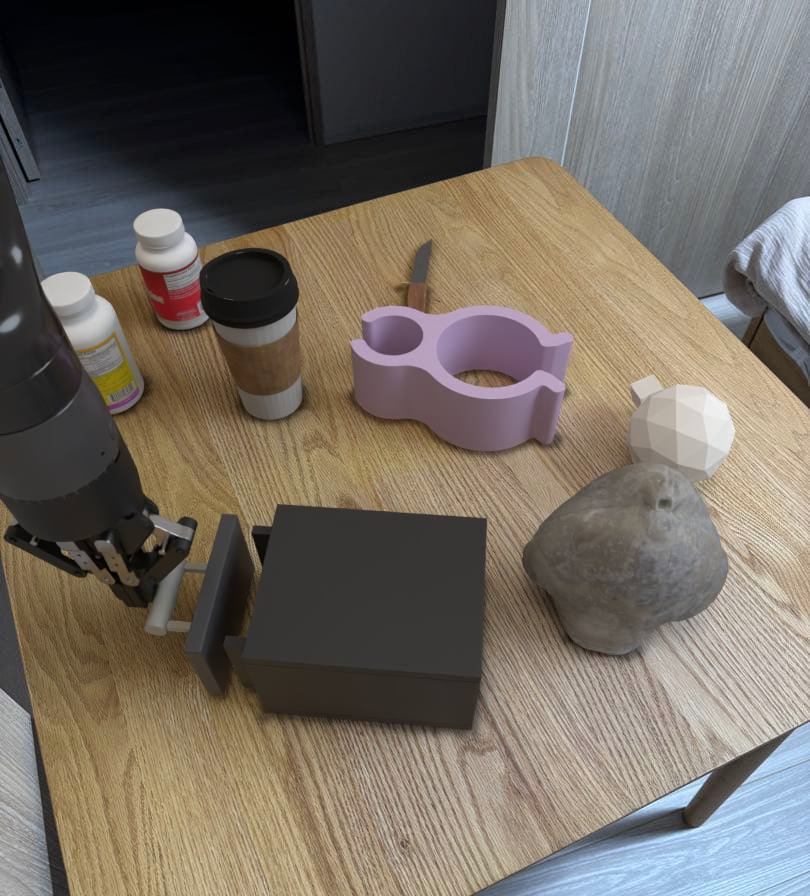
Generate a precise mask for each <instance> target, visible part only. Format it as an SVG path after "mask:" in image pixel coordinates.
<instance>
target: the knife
mask: <svg viewBox="0 0 810 896" xmlns="http://www.w3.org/2000/svg"><path fill="white" fill-rule="evenodd" d="M432 242H433V238H431V239H429V240H428V241H426V242H425V243H423V244H422V245H420V247H419V249H418V250H417V252H416V253H415V255H414V256H415V257H414V262H413V268H412V272H411V278H410V281H401V282H400V286H401V287H408V292H407V299H406V307H409V308H413V309H416V310H418V311H420V312H423V313H426V303H427V293H428V292H427V291H428V283H427V277H428V276H427V274H428V269H429V264H430V256H431V250H432Z"/></svg>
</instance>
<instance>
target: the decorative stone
mask: <svg viewBox="0 0 810 896" xmlns="http://www.w3.org/2000/svg"><path fill="white" fill-rule="evenodd" d="M715 525H716V524H714V522H713V520H712V518H711V513H710V510H709V507H708V506H707V504H706V502H705V501H704V499H703V498H702V496H701V495H700V492H699V490H698V489H697V488H696V486H695V485H694V483H692V482H691V481H690V480H689V479H687V478H686V477H685V476H684V474H682V473H680V472H679V471H677V470H676V469H674V468H671V467H669V466H666V465H662V464H656V463H637V464H633V463H632V464H628V465H624V466H622V467H618V468H614V469H613V470H610V471H608V472H604V473H602V474H601V475H599V476H597V477H595V478H594V479H593V480H590V481H589V482H588V483H587V484H585V485H584V486H582V487H581V488H580V489H579V490H578V491H577V492H576V493H575V494H574V495H573V496H572V495H571V497H569V498H567V500H565V501H564V502H563V503H561V504H560V505H559V506H557V508H556V509H554V510H553V511H552V512H551V513H550V514H549V515H548V516H547V517H546V518H545V519H544V520H543V521H542V522H541V523H540V524H539V526H538V529H537V530H536V531H535V533H533V536H532V538H531V539H530V540H529V541H528V542H527V543H526V544H525V545H524V547H523V549H522V560H521V563H522V567H523V571H524V572H525V574H526V575H527V577H528V578H529V579H530V580H531V581H532V582H533V583H535V584H537V585H539V586H540V587H541V588H543V589H544V590H546V591H547V592H548V593H549V595H550V597H551V599H552V601H553V603H554V605H555V608H556V611H557V616H558V619H559V622H560V624H561V627H562V628H563V630H564V631H565V633H566V634H567V635H568V636H569V638H570V639H571V640H572V642H573V643H575V644H576V645H578V646H580V647H581V648H583V649H586V650H588V651H589V650H590V651H595V652H600V653H604V654H606V655H609V656H622V655H626V654H628V653H631V652H632V651H635V650H636V649H638V648H639V646H640V645H641V643H642V641H643V640H645V639H646V638H648V637H649V636H650V635H651V634H653V632H654V631H655V630H656V629H657V628H659V627H661V626H663V625H666V624H668V623H672V622H673V623H674V622H675V623H676V622H683V621H687V620H690V619H692V618H694V617H696V616H698V615H699V614H701V613H702V612H704V611H705V610H707V609H708V608H709V607H710V605H712V604H713V603H715V602H716V600H717V598H718V596H719V595H720V593H721V591H722V590H723V588H724V586H725V584H726V581H727V578H728V574H729V571H730V567H729V565H730V564H729V560H728V557H727V553H726V551H725V549H724V547H723V546H722V542H721V538H720V534H719V532H718V529H717V526H715Z"/></svg>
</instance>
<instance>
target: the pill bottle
mask: <svg viewBox="0 0 810 896" xmlns="http://www.w3.org/2000/svg"><path fill="white" fill-rule="evenodd" d="M133 230H134V234H135V237H136V239H137V243H136V246H135V251H134V255H135V259H136V262H137V265H138V268H139V271H140V274H141V277H142V280H143V282H144V285H145V287H146V288H145V289H146V291H147V293H148V297H149V299H150V302H151V305H152V307H153V310H154V313H155V315H156V318H157V320H158V321H159V323H160V324H162V326H165V327H166V328H168V329H171V330H176V331H179V330H180V331H185V330H190V329H194V328H196V327H199V326H201V325H203V324H204V323H206V322H207V321H208V319H210V318H209V317H208V316H207V315H206V313H205V312H204V310H203V307H202V304H201V300H200V292H201V289H200V281H199V274H200V271H201V269H202V268H203V264H202V261H201V256H200V252H199V248H198V247H197V243H196V241H195V239H194V238H193V237H192V236H191V234H190V233H188V232H186V231H185V230H186V229H185V225H184V223H183V220H182V217H181V215H180V214H179V212H177V211H175V210H173V209H171V208H170V209H169V208H154V209H149V210H147V211H143V212H142V213H140V214H139V215H138V216H137V217H136V218H135V219H134V221H133Z"/></svg>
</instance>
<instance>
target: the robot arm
mask: <svg viewBox="0 0 810 896" xmlns="http://www.w3.org/2000/svg"><path fill="white" fill-rule="evenodd" d="M41 282H42V281H41V279H40V277H39V273H38V270H37V267H36V264H35V260H34V257H33V252H32V249H31V245H30V242H29V239H28V235H27V231H26V228H25V224H24V221H23V219H22V216H21V212H20V209H19V206H18V203H17V200H16V196H15V193H14V190H13V187H12V183H11V180H10V178H9V174H8V171H7V169H6V165H5V163H4V160H3V157H2V154H1V153H0V501H1V502H2V503H3V505H4V506H5V508H6V509H7V510H8V511H9V513H10V514H11V515H12V518H11V519H10V521H9V523H8V526H7V528H6V530H5V532H4V534H3V537H2V539H3V540H4V541H5V542H6V543H8V544H10V545H11V546H14V547H16V548H18V549H19V550H22V551H23V552H25V553H28V554H30V555H31V556H33V557H35V558H37V559H39V560H41V561H43V562H45V563H48V564H49V565H51V566H53V567H55V568H57V569H59V570H61V571H63V572H65V573H66V574H69V575H71V576H72V577H75V578H79V579H86V578H87V576H88V574H89V575H94V577H95V578H96V580H98V581H99V582H100V583H102V584H105V585H107V586H108V587H109V589H110V590H111V592H112V593H113V595H114V596H115V598H117V599H118V600H119V601H122V602H123V604H124V606H125V607H126V608H133V609H148V607H149V605H150V604H152V602H153V599H154V596H155V593H156V590H157V587H158V583H160V582H161V581H162V580H163V579H164V578H165V577H166V576H167V575H168V574H170V573H171V572H172V571H173V570H174V569H175V568H176V567H177V566H178V565H179V564H180V563H181V562H182V561H183V560H184V559H185V560H186V559H187V558H188V557H189V555H190V553H191V552H190V551H191V548H192V546H193V544H194V543H193V542H194V539H195V536H196V532H197V528H198V526H199V523H198V521H197V520H196V519H195V518H193V517H190V516H182V517H180V518H179V519H178V520H177V521H176V522H175V521H174V520H171V519H169V518H167V517H164V516H162V515H160V509H159V506H158V505H157V503H156V502H154V500H152V499H151V498H150V497H148V496H147V495H146V494H145V493H144V489H143V486H142V481H141V477H140V473H139V469H138V467H137V465H136V462H135V460H134V458H133V457H132V454H131V452H130V450H129V448H128V446H127V444H126V441H125V440H124V438H123V435H122V434H121V432H120V429H119V426H118V425H117V423H116V421H115V419H114V417H113V414H111V413H110V411H109V409H108V407H107V405H106V402H105V400H104V398H103V396H102V394H101V392H100V391H99V389H98V387H97V386H96V384H95V383H94V381H93V380H92V378H91V377H90V375H89V374H88V373H87V371H86V370H85V369H84V367H83V365H82V363H81V362H80V360H79V358H78V356H77V354H76V352H75V350H74V348H73V346H72V344H71V342H70V340H69V338H68V336H67V334H66V332H65V330H64V328H63V326H62V324H61V321H60V319H59V317H58V315H57V313H56V312H55V310H54V308H53V306H52V304H51V303H50V301H49V300H48V298H47V296H46V294H45V292H44V290H43V288H42V285H41ZM151 535H154V536H155V538H156V539H155V544H154V545H153V546H152V549H151V551H148V550H147V547H146V546H145V545H146V544H145V543H146V541H147V540H148V539H149V538H150V537H151ZM62 551H66V552H67V553H68V554H69V556H70V557H69V556H68V555H66V554H64V553H63V552H62Z"/></svg>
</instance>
